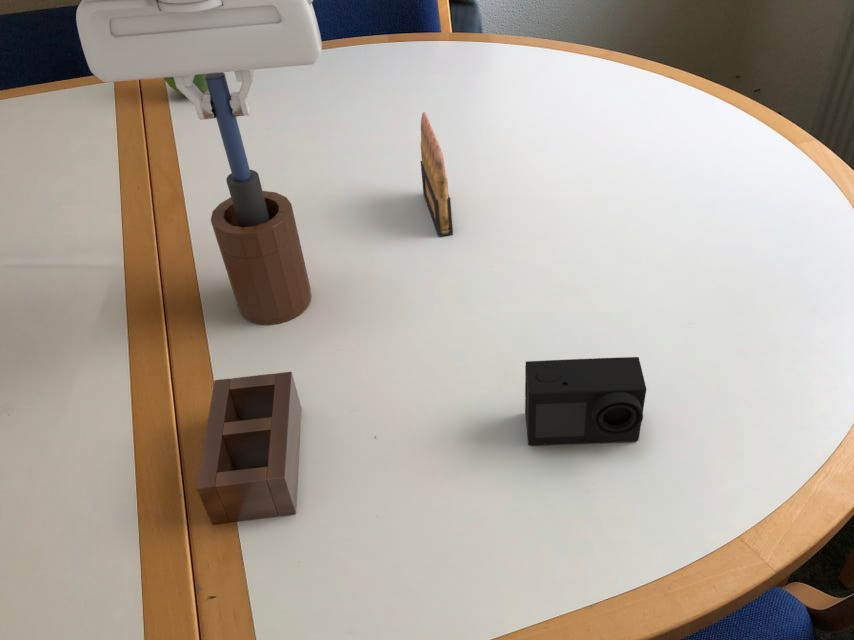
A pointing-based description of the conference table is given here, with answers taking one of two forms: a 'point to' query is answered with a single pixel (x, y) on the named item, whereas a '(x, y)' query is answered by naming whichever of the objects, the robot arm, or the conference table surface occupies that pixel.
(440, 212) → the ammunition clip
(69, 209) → the conference table surface
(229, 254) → the cup
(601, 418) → the digital camera
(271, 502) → the rack
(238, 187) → the brush
